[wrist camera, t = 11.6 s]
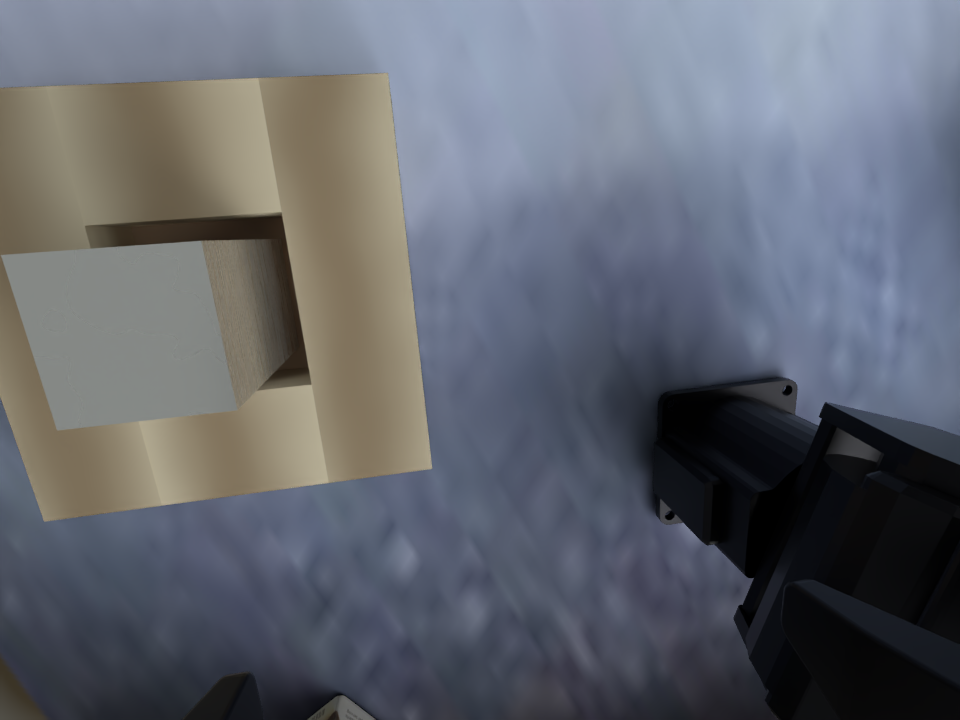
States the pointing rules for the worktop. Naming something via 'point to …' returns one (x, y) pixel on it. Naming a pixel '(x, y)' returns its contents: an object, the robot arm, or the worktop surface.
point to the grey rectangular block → (154, 327)
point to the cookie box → (341, 711)
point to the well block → (223, 216)
